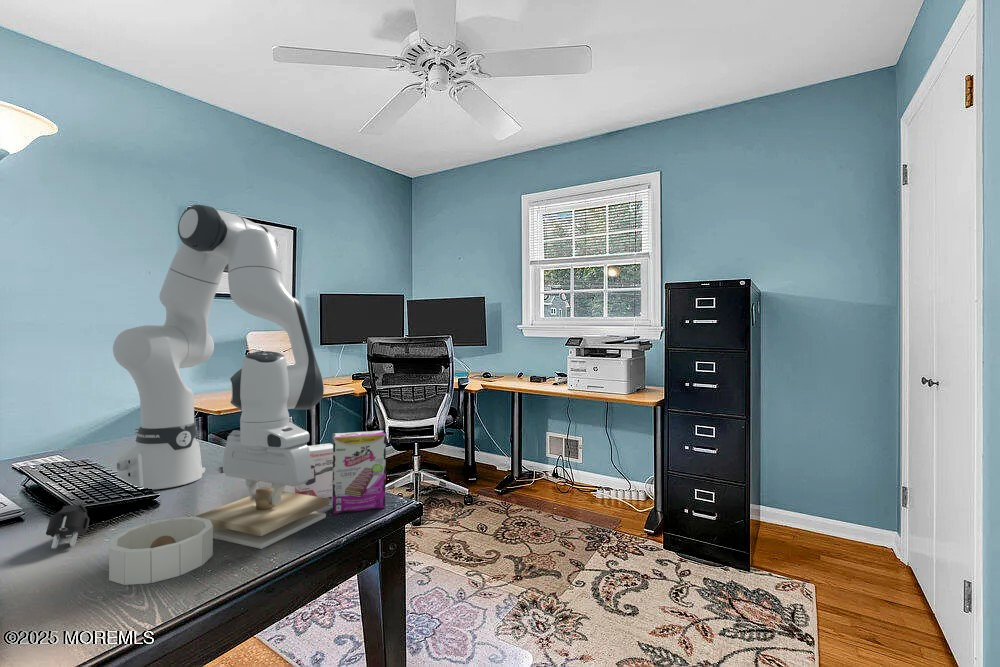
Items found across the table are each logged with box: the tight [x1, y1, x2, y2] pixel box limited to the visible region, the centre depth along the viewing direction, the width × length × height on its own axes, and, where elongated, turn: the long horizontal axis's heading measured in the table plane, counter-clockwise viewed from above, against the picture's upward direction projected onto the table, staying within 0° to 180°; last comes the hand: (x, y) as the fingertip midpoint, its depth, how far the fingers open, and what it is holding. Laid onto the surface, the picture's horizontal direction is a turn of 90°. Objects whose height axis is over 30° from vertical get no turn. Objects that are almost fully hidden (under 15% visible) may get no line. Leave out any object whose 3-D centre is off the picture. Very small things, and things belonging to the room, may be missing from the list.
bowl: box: [108, 516, 214, 586], centre depth 81 cm, size 14×14×5 cm
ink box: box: [294, 443, 333, 499], centre depth 113 cm, size 8×5×12 cm, turn 123°
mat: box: [213, 511, 327, 550], centre depth 97 cm, size 16×16×1 cm
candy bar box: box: [331, 430, 387, 515], centre depth 106 cm, size 11×5×16 cm, turn 110°
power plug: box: [45, 503, 90, 550], centre depth 90 cm, size 6×8×12 cm
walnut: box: [150, 536, 176, 548], centre depth 81 cm, size 4×4×4 cm
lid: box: [195, 486, 330, 536], centre depth 97 cm, size 17×17×5 cm
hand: (265, 502), depth 97 cm, fingers closed on lid, 3 cm apart
